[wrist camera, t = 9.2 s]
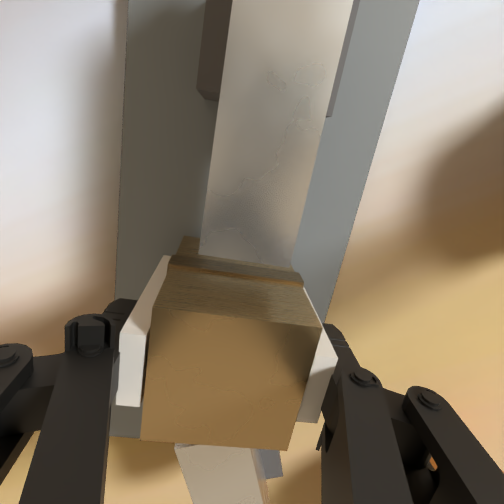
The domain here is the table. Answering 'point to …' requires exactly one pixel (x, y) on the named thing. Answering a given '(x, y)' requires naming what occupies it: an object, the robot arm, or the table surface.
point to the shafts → (263, 175)
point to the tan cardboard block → (227, 352)
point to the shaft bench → (202, 137)
